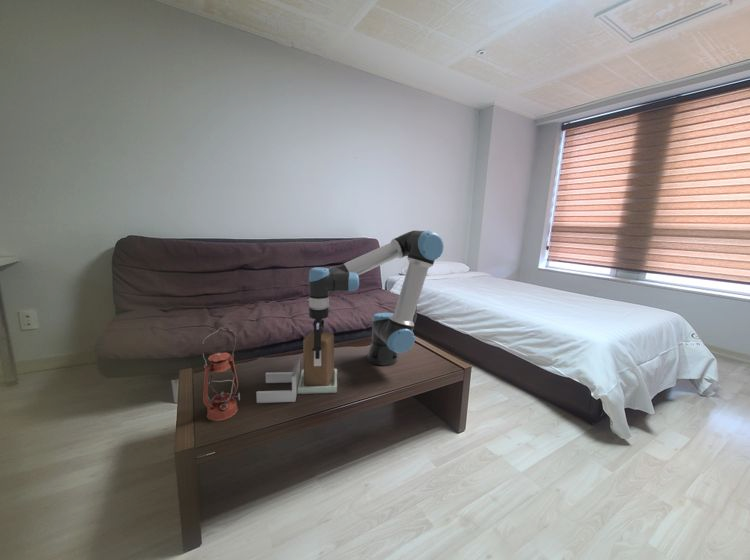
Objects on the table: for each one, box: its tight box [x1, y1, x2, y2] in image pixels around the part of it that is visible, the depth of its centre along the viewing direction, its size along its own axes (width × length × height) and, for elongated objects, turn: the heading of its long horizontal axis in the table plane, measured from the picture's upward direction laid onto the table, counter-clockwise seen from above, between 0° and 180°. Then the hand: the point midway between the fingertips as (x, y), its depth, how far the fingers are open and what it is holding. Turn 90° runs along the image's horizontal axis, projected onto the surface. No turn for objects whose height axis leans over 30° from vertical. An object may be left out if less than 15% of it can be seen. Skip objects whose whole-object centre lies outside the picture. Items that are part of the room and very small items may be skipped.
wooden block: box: [302, 331, 335, 386], centre depth 122 cm, size 10×10×20 cm
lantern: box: [202, 327, 241, 422], centre depth 101 cm, size 10×10×30 cm
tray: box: [297, 368, 338, 395], centre depth 124 cm, size 15×15×2 cm
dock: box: [255, 356, 301, 404], centre depth 117 cm, size 14×15×11 cm
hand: (318, 357), depth 122 cm, fingers open, 13 cm apart
